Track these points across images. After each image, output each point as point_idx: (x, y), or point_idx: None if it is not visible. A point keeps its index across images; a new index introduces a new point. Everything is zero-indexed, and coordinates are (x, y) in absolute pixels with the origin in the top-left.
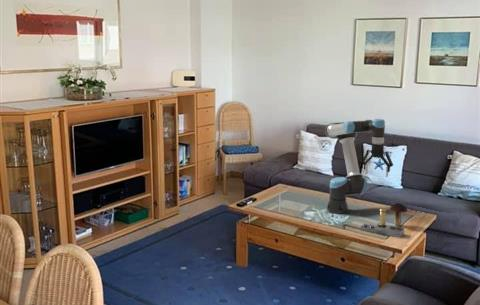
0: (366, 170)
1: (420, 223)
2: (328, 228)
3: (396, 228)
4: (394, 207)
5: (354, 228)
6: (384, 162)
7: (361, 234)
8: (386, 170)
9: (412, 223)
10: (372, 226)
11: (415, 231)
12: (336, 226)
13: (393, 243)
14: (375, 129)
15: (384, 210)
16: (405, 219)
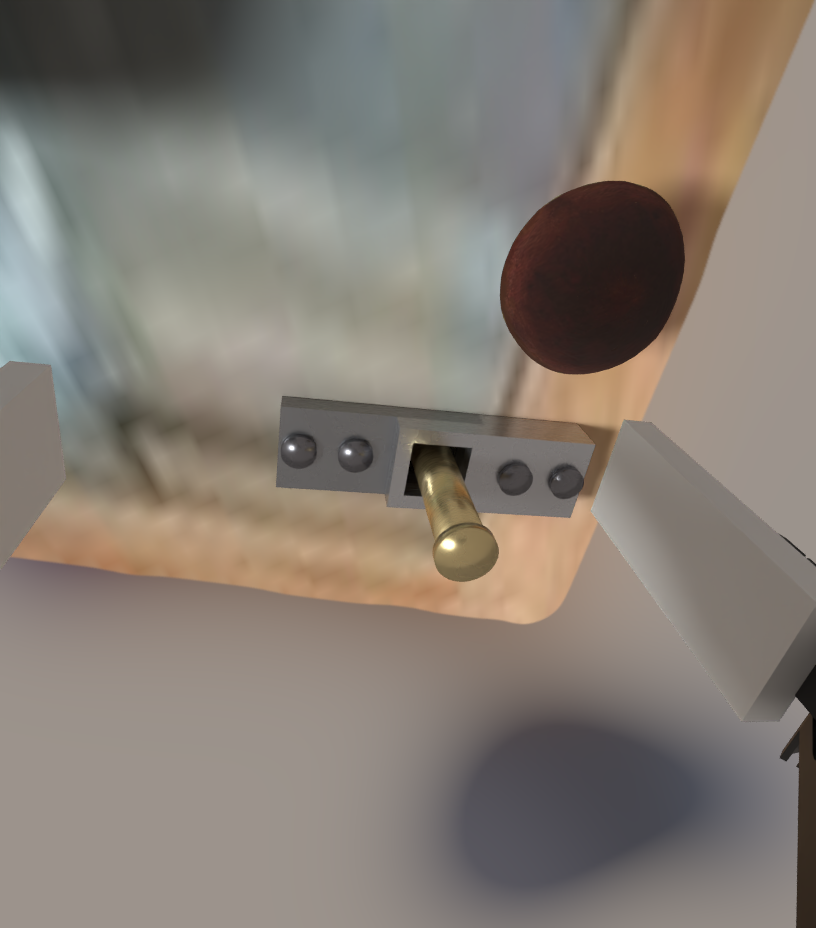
0: (8, 531)
1: (734, 104)
2: (48, 533)
3: (540, 477)
4: (563, 355)
5: (224, 458)
6: (807, 921)
7: (307, 540)
8: (691, 632)
9: (663, 136)
10: (360, 458)
11: (660, 338)
12: (79, 474)
13: (513, 585)
14: None
15: (482, 574)
16: (610, 19)
